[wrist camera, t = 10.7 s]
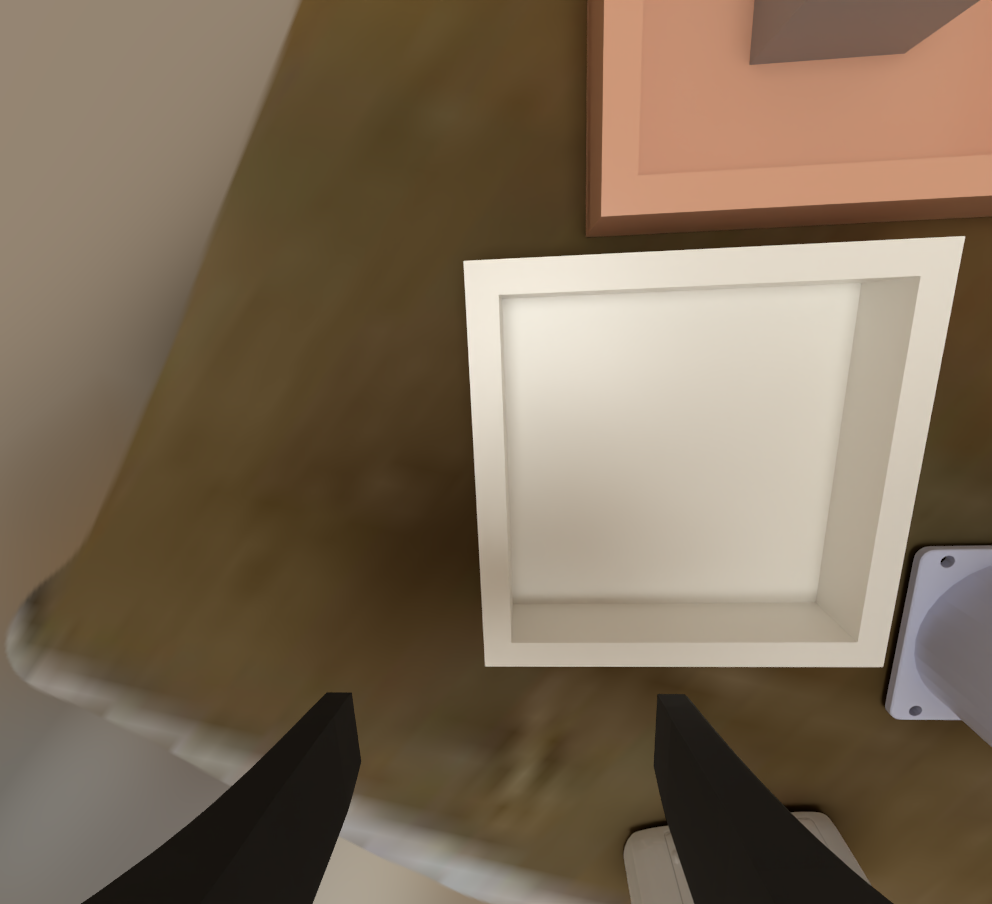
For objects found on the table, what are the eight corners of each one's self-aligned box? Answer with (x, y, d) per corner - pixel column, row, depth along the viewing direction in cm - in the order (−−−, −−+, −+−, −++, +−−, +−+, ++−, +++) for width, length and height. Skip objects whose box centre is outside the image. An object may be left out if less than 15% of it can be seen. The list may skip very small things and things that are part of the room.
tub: (876, 253, 17) (965, 235, 14) (823, 610, 20) (883, 667, 17) (474, 272, 18) (463, 261, 14) (491, 611, 21) (485, 666, 18)
